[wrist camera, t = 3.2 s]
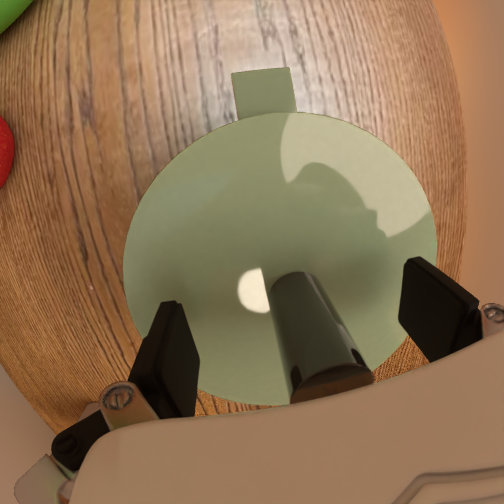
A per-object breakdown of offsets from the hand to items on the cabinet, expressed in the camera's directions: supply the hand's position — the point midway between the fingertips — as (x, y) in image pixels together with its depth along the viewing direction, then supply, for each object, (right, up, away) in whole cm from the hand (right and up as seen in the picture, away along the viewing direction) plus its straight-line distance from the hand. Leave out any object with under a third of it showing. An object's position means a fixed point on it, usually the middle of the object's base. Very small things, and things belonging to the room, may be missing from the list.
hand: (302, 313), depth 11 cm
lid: (0, +1, +2) cm, 2 cm away
